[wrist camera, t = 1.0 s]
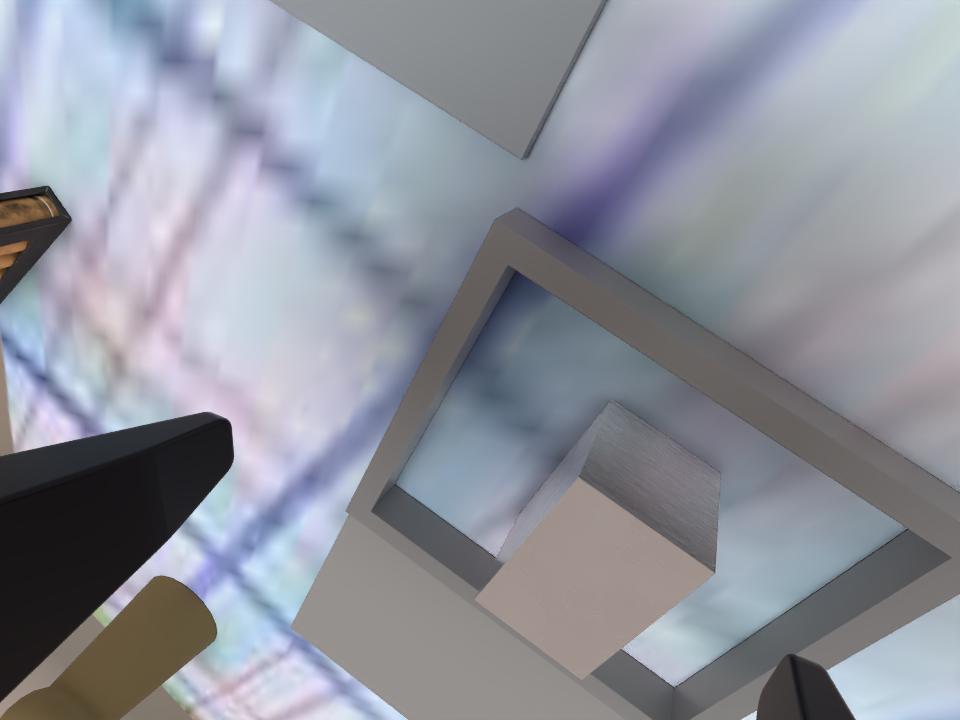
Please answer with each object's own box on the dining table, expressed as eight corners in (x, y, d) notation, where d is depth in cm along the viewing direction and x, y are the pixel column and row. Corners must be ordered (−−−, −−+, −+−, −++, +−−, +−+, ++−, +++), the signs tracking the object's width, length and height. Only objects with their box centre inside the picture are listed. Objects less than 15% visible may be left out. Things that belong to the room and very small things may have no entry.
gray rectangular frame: (991, 513, 17) (1018, 559, 15) (541, 800, 32) (530, 839, 30) (517, 207, 19) (495, 219, 17) (301, 613, 34) (278, 641, 32)
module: (721, 471, 20) (715, 573, 16) (610, 575, 24) (581, 680, 20) (612, 397, 20) (578, 477, 16) (520, 511, 24) (473, 599, 20)
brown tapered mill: (139, 565, 39) (-46, 711, 30) (206, 591, 37) (29, 757, 28) (160, 627, 42) (-4, 780, 32) (224, 655, 40) (68, 827, 30)
